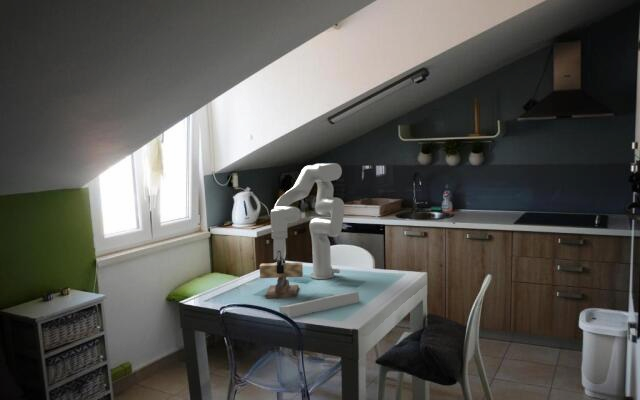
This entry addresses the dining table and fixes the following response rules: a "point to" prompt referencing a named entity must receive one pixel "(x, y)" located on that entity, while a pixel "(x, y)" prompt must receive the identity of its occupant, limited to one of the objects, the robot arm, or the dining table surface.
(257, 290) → the dining table surface
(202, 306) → the dining table surface
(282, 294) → the ridge stand
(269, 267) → the wooden block
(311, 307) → the decorative molding
